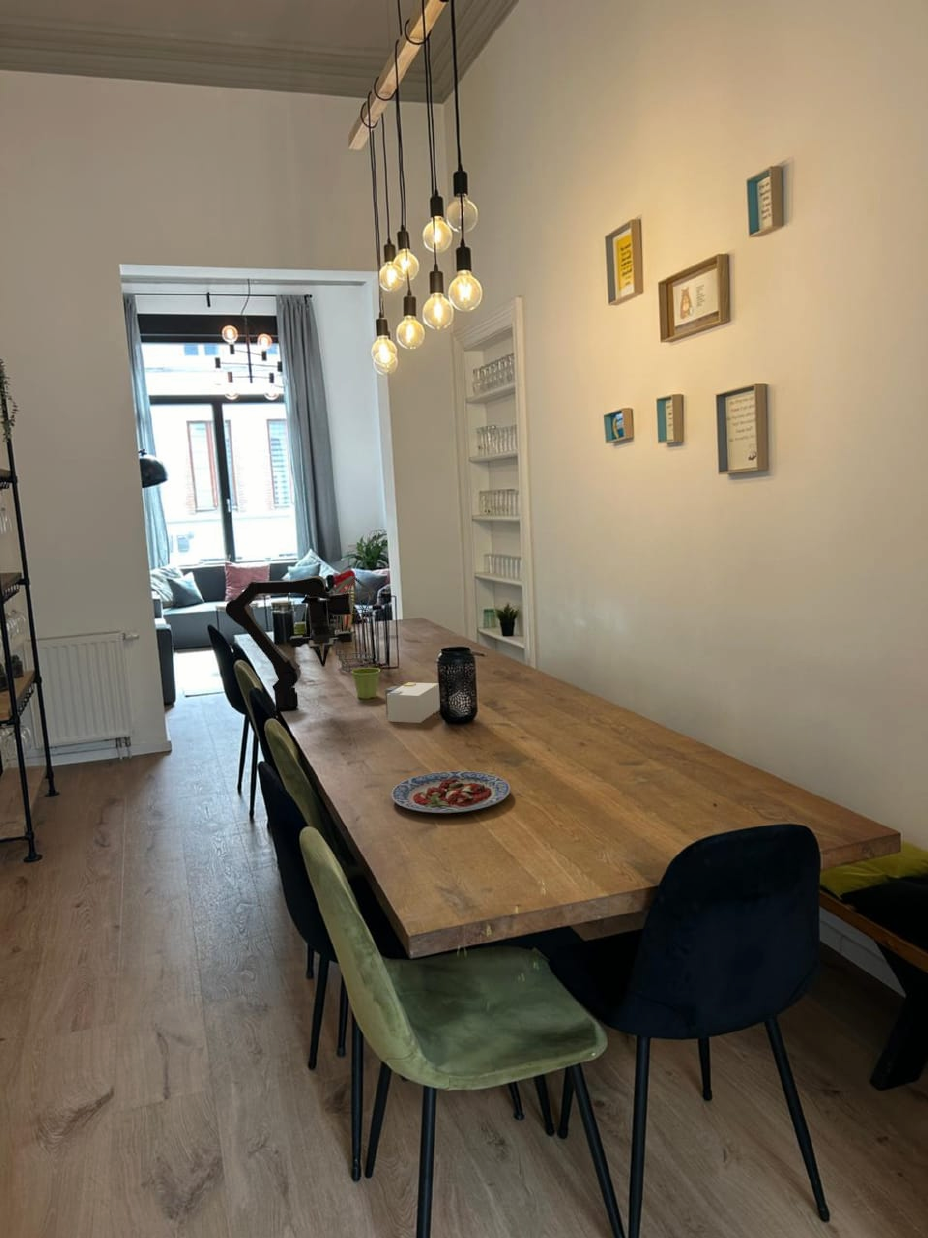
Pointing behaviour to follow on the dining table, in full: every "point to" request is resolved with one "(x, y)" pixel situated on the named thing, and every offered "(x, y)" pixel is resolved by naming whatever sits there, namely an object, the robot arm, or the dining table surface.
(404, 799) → the ceramic plate
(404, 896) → the dining table surface
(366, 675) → the plant pot
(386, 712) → the plug
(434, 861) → the dining table surface
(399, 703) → the port box
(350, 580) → the geometric lantern
